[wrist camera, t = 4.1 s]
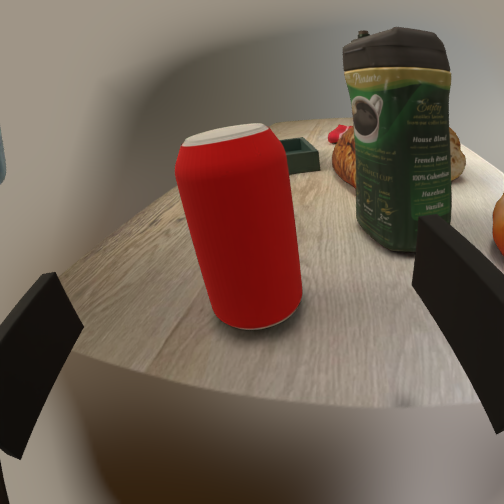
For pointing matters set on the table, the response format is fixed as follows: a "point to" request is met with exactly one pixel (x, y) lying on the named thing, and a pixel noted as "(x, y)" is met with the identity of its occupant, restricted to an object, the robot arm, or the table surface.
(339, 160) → the bread
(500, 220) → the fruit
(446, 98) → the coffee jar
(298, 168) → the drinks tray
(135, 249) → the table surface
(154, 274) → the table surface
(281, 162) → the beverage can
